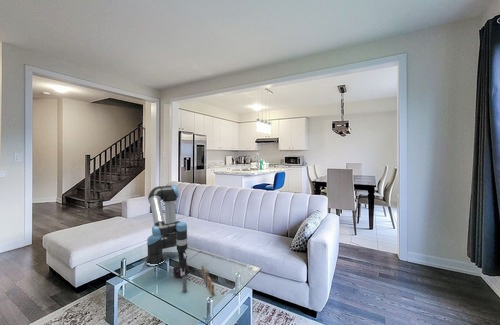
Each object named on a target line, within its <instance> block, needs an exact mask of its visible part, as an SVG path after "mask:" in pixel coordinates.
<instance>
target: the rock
mask: <svg viewBox="0 0 500 325" xmlns="http://www.w3.org/2000/svg"><path fill="white" fill-rule="evenodd" d="M180 267H181V266H180V265H176V266H175V267H173V268H172V270H173V276H174V277H175V278H178V277H180V278H182V276H181V269H180ZM189 271H190V269H189V264H188V263H187V262H186V267H185V275H187V274H188V272H189Z"/></svg>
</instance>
